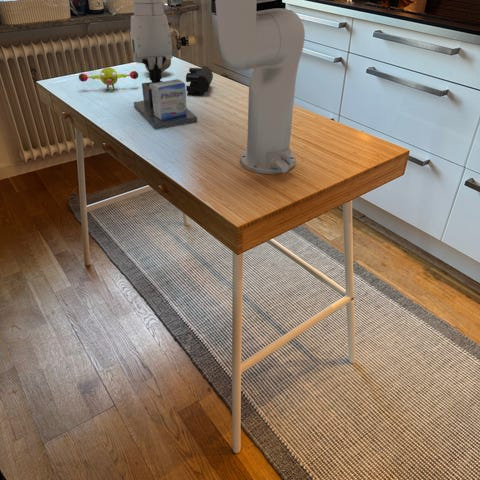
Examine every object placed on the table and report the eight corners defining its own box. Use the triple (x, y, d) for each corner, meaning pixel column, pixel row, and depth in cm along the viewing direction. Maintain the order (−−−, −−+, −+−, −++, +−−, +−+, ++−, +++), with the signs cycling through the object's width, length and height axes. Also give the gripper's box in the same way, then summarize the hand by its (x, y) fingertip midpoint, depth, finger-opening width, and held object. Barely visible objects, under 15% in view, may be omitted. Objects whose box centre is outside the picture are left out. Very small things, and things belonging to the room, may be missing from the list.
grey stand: (197, 122, 122) (196, 98, 118) (154, 129, 117) (152, 105, 113) (173, 101, 134) (171, 79, 131) (134, 107, 130) (131, 84, 126)
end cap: (209, 97, 138) (208, 75, 134) (186, 96, 138) (185, 74, 134) (213, 87, 146) (212, 65, 142) (191, 86, 146) (190, 64, 142)
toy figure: (80, 94, 138) (76, 72, 134) (81, 88, 142) (77, 66, 138) (140, 91, 141) (137, 69, 137) (139, 85, 146) (137, 64, 142)
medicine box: (160, 120, 118) (157, 87, 113) (153, 115, 121) (150, 82, 116) (187, 115, 122) (185, 82, 117) (179, 110, 125) (177, 78, 120)
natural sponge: (174, 71, 159) (172, 41, 153) (168, 79, 152) (166, 48, 146) (149, 70, 159) (146, 40, 153) (142, 78, 152) (139, 47, 146)
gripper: (170, 5, 120) (176, 75, 131) (115, 9, 115) (125, 82, 125) (181, 9, 115) (185, 82, 126) (123, 14, 109) (133, 90, 120)
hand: (155, 82), depth 125 cm, fingers closed
